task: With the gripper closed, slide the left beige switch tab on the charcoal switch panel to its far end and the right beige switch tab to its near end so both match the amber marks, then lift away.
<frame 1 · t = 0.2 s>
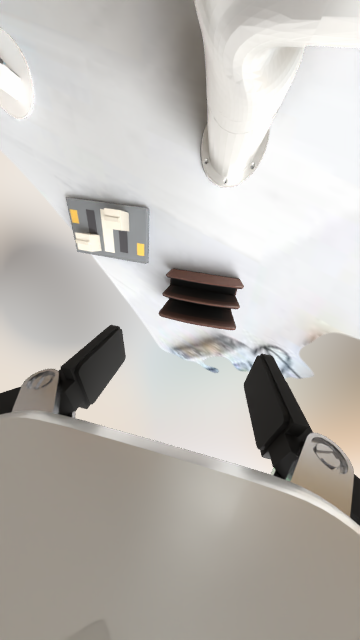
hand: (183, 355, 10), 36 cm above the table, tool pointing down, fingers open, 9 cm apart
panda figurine: (11, 80, 31), on the table
switch tab b: (88, 242, 39), point 5 cm above the table, slide at 0.0 cm
switch tab a: (116, 220, 36), point 5 cm above the table, slide at 0.0 cm
letter holder: (202, 289, 45), on the table
switch panel: (112, 232, 41), on the table
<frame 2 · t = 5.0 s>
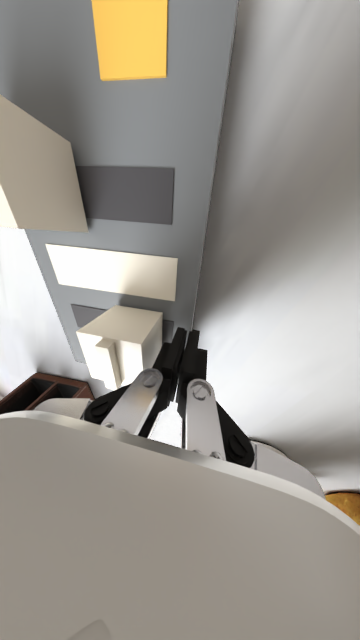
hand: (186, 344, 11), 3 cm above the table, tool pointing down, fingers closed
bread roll: (352, 500, 25), on the table
switch tab b: (4, 177, 7), point 5 cm above the table, slide at 0.0 cm
switch tab a: (126, 346, 11), point 5 cm above the table, slide at 0.9 cm, touching gripper
letter holder: (81, 409, 29), on the table
switch panel: (125, 268, 13), on the table
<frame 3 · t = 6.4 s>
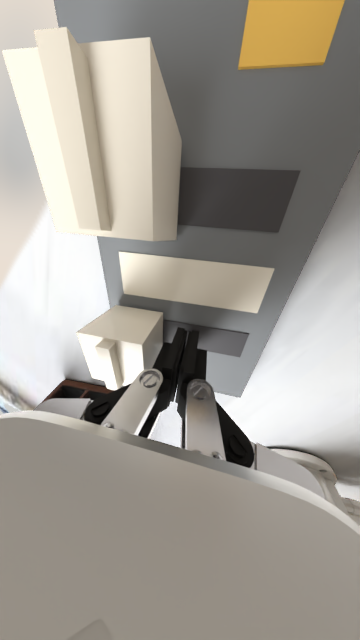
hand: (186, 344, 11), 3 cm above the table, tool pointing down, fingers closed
switch tab b: (120, 180, 6), point 5 cm above the table, slide at 0.0 cm
switch tab a: (127, 346, 11), point 5 cm above the table, slide at 6.7 cm, touching gripper
letter holder: (107, 415, 28), on the table
switch panel: (192, 276, 12), on the table
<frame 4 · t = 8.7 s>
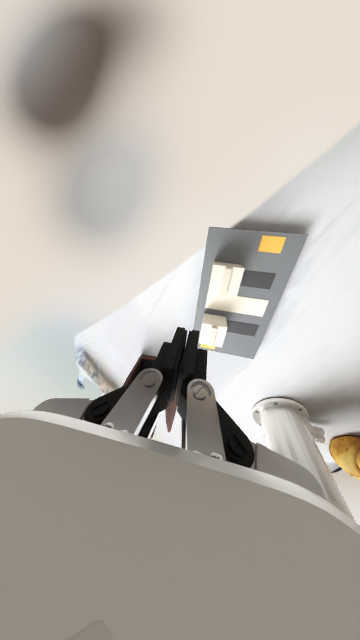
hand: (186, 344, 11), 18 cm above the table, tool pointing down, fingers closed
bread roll: (349, 444, 38), on the table
switch tab b: (224, 279, 21), point 5 cm above the table, slide at 0.0 cm
switch tab a: (212, 330, 26), point 5 cm above the table, slide at 6.1 cm
letter holder: (160, 382, 43), on the table
switch panel: (233, 300, 27), on the table
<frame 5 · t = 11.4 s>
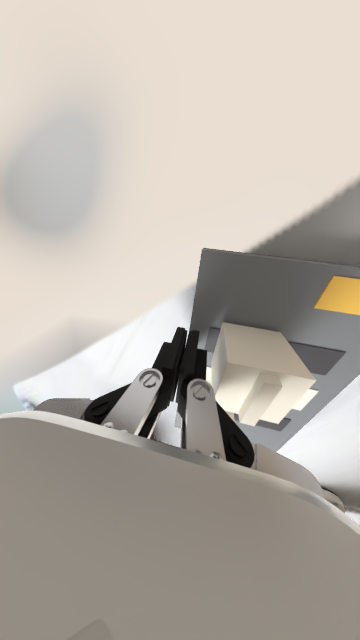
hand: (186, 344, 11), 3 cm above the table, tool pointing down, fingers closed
switch tab b: (248, 371, 9), point 5 cm above the table, slide at -0.8 cm, touching gripper
switch tab a: (208, 433, 14), point 5 cm above the table, slide at 6.1 cm
switch panel: (246, 370, 15), on the table
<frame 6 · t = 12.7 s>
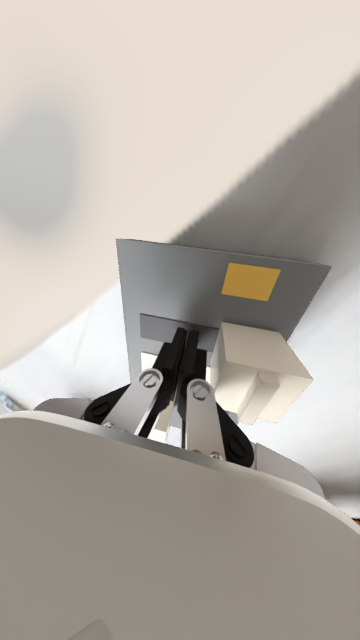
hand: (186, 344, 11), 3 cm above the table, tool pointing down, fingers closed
switch tab b: (247, 371, 9), point 5 cm above the table, slide at -6.5 cm, touching gripper
switch tab a: (150, 417, 15), point 5 cm above the table, slide at 6.1 cm
switch panel: (192, 359, 16), on the table
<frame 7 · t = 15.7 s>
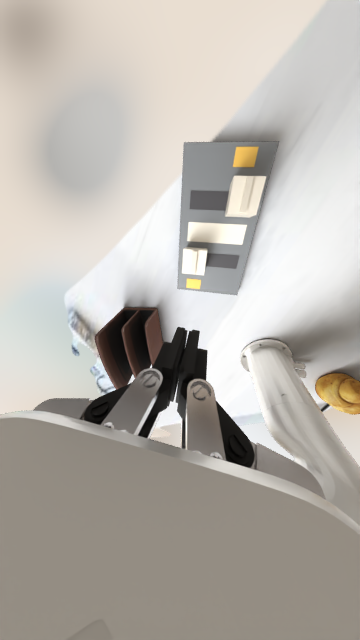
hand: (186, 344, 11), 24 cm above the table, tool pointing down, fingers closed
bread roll: (333, 383, 41), on the table
switch tab b: (243, 198, 21), point 5 cm above the table, slide at -6.1 cm
switch tab a: (194, 261, 26), point 5 cm above the table, slide at 6.1 cm
letter holder: (147, 336, 44), on the table
switch panel: (215, 233, 28), on the table
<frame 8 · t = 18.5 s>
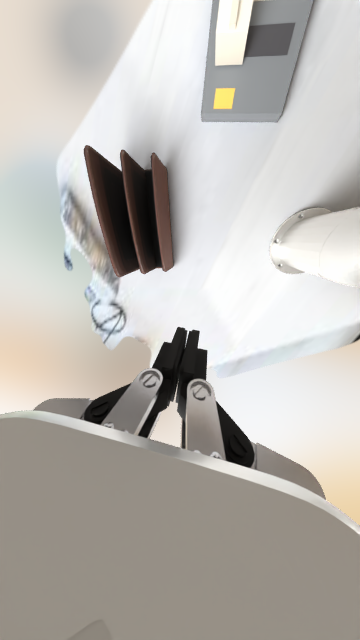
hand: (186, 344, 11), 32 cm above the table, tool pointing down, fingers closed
switch tab a: (234, 20, 19), point 5 cm above the table, slide at 6.1 cm
letter holder: (152, 226, 36), on the table
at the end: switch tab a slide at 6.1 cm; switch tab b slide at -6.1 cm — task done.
